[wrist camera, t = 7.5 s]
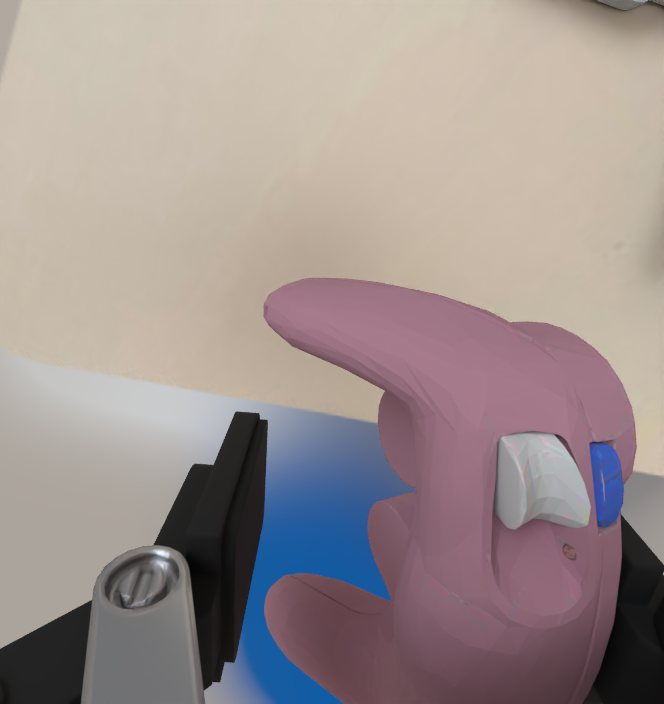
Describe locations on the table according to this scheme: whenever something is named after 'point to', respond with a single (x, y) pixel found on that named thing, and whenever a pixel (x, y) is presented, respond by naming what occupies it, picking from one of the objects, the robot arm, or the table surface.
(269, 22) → the table surface
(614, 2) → the office telephone
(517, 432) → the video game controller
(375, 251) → the table surface
